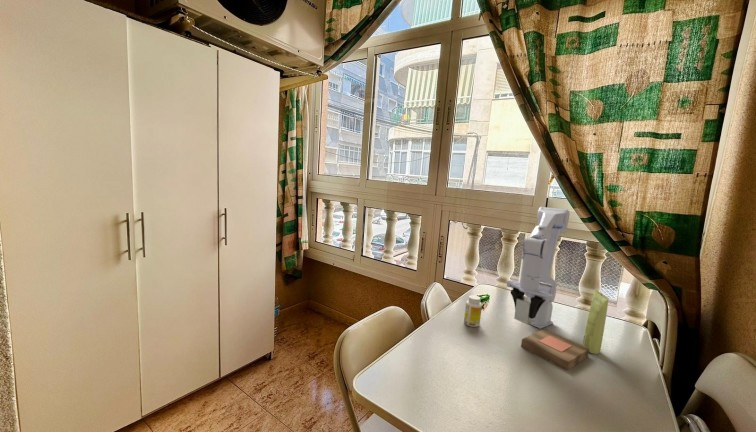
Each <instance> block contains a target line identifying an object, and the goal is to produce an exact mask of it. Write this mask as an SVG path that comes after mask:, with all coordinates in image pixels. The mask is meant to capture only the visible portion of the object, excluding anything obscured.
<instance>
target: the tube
mask: <svg viewBox="0 0 756 432" xmlns="http://www.w3.org/2000/svg"><path fill="white" fill-rule="evenodd" d="M609 299H610V298H609V297H608V296H606V295H605V294H603V293H602V292H600V291H599V290H597V288H595V289H594V292H593V296H592V299H591V303H590V308H589V312H588V315H587V320H586V325H585V329H584V335H583V340H582V344H581V345H582V346H584V347H586V348H588V349H589V353H590V354H595V355H598V354H600V353H601V351H602V350H601V349H602V348H601V347H602V344H603V340H604V339H603V337H604V332H605V325H606V322H607V321H606V320H607V312H608V308H609V307H608V306H609Z"/></svg>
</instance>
